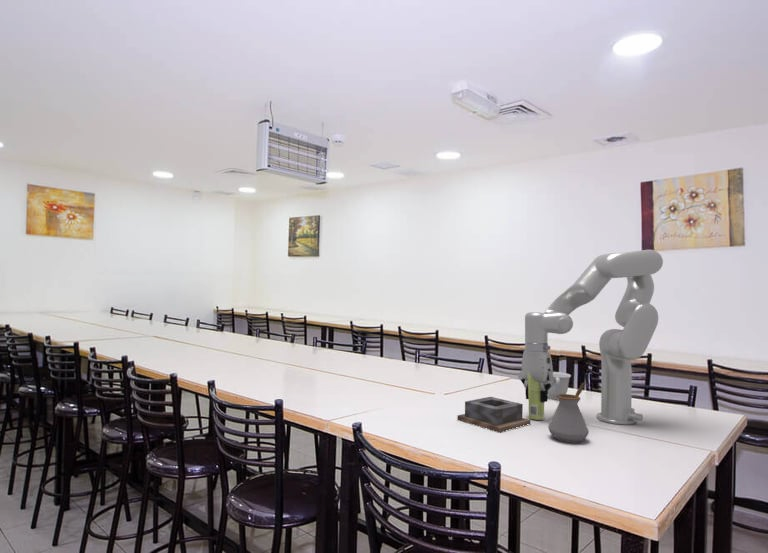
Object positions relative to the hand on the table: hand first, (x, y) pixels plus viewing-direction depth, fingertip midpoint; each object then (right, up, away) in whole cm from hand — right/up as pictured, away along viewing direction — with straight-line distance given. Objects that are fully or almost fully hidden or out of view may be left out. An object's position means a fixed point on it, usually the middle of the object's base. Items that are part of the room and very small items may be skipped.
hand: (536, 399), depth 169 cm
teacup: (+18, -8, +32) cm, 38 cm away
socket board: (-16, -6, -5) cm, 18 cm away
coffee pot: (+6, -7, -18) cm, 20 cm away
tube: (0, -7, 0) cm, 7 cm away
